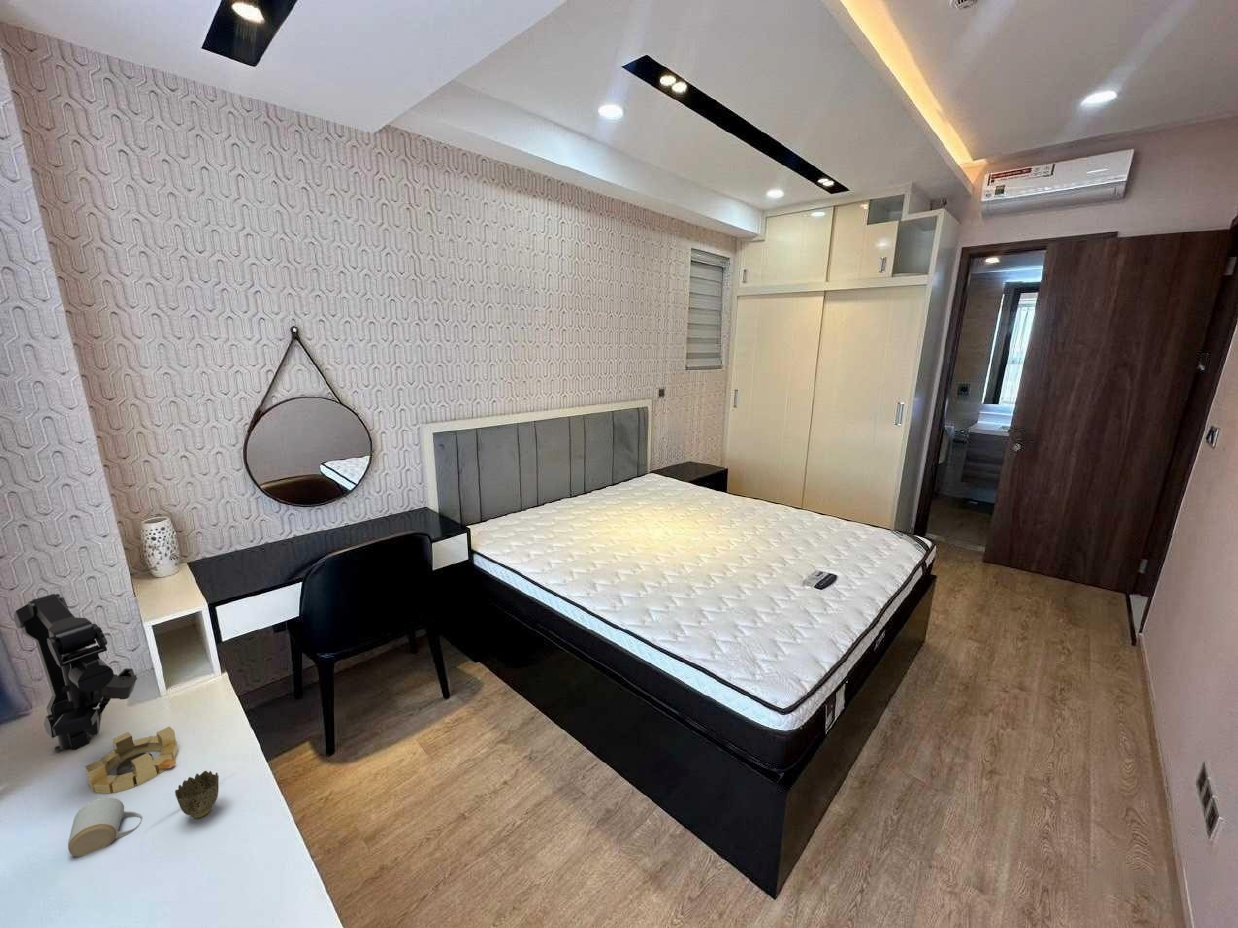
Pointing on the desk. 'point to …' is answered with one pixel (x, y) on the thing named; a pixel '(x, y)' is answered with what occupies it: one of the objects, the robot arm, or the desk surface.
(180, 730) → the desk surface
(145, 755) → the ring nut
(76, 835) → the ceramic mug
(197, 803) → the cup
